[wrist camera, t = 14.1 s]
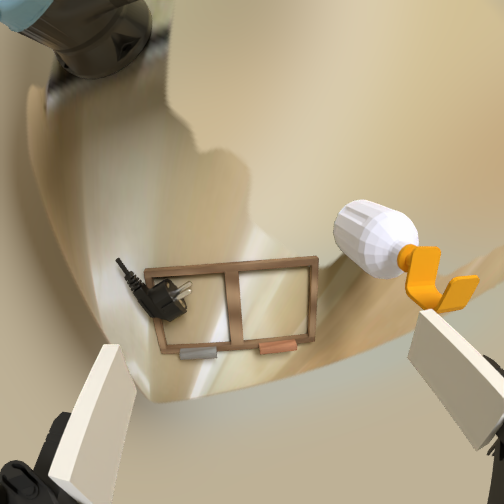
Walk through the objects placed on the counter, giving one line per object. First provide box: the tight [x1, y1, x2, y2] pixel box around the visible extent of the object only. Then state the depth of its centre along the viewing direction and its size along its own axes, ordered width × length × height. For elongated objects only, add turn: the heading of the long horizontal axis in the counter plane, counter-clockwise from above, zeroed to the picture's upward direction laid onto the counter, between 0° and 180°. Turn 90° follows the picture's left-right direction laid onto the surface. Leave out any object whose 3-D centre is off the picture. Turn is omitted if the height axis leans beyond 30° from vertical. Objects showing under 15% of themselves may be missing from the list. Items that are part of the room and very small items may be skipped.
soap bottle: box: [333, 199, 480, 314], centre depth 33 cm, size 9×9×25 cm
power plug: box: [115, 258, 192, 321], centre depth 41 cm, size 6×8×12 cm
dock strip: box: [144, 256, 319, 360], centre depth 45 cm, size 15×26×3 cm, turn 93°
